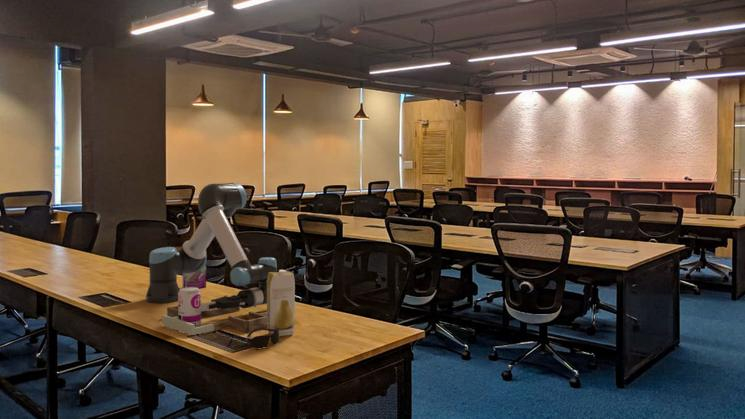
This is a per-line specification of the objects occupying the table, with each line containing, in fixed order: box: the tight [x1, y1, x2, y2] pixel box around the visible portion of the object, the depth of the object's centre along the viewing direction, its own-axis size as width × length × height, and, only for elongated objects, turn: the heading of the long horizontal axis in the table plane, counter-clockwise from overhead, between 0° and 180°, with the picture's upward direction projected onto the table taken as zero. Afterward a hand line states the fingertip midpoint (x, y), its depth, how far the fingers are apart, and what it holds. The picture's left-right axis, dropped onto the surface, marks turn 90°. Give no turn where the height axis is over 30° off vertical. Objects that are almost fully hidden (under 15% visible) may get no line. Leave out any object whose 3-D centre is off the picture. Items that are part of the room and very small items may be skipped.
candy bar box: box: [181, 263, 207, 289], centre depth 304 cm, size 11×5×16 cm, turn 115°
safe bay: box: [161, 314, 215, 336], centre depth 229 cm, size 9×20×4 cm, turn 49°
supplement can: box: [177, 287, 202, 327], centre depth 229 cm, size 8×8×15 cm
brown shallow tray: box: [166, 305, 267, 333], centre depth 242 cm, size 27×41×4 cm, turn 49°
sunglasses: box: [230, 328, 280, 349], centre depth 212 cm, size 14×16×5 cm
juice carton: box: [266, 269, 296, 337], centre depth 222 cm, size 9×8×24 cm
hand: (200, 307), depth 232 cm, fingers closed
